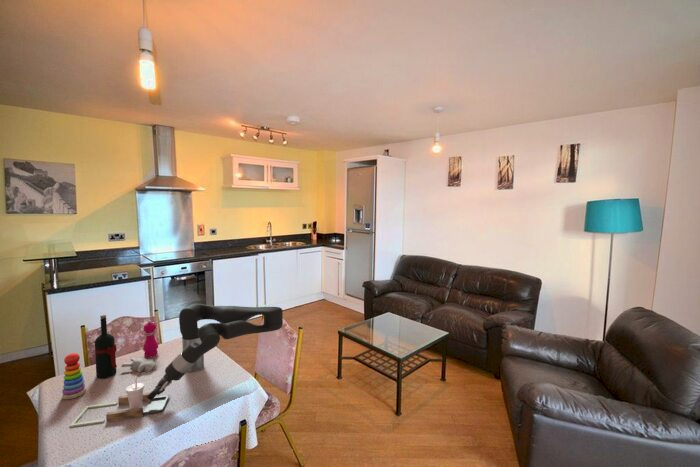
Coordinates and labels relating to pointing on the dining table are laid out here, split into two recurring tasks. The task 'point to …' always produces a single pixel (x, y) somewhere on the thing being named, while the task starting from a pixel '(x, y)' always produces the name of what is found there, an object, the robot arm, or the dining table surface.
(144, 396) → the walnut channel
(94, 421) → the frame
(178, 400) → the dining table surface
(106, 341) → the wine bottle
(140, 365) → the bunny figurine
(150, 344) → the pepper mill
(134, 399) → the smoothie
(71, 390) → the stacking toy
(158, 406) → the tray
